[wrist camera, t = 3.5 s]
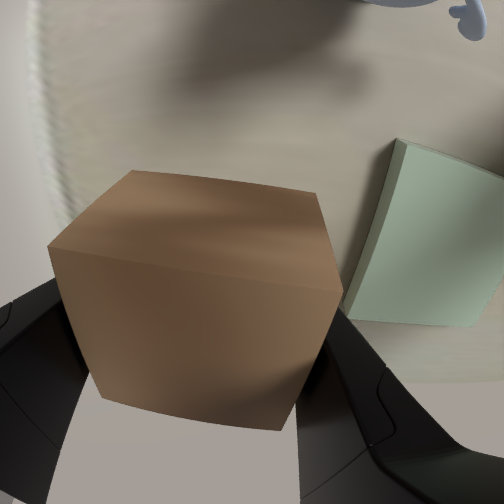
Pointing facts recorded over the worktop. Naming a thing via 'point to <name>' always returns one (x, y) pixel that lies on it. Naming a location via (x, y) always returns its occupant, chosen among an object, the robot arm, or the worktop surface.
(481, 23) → the toy figure
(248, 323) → the walnut brick
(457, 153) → the worktop surface
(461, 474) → the robot arm
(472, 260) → the base plate
